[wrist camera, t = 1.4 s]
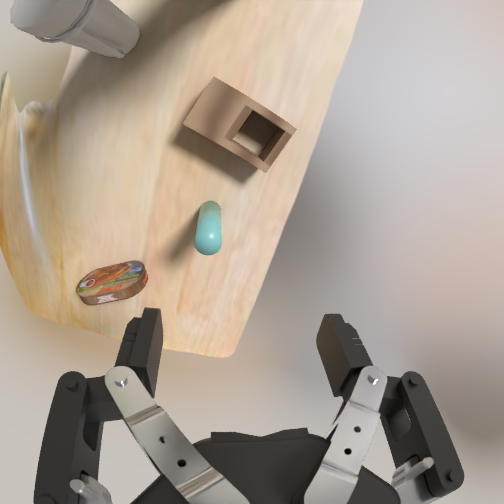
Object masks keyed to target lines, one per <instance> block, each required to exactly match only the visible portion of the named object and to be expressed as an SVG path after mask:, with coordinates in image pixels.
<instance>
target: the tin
mask: <svg viewBox="0 0 504 504" xmlns="http://www.w3.org/2000/svg"><path fill="white" fill-rule="evenodd" d="M147 280H148V274H147V272H146V270H145V266H144V264H143V263H142V262H140V261H129V262H124V263H120V264H116V265H112V266H108V267H104V268H100V269H96V270H94V271H92V272H90V273H89V274H87V275H86V276H85V277H84V278H83V279H82V280H81V281H80V282H79V284H78V286H77V288H76V292H77V294H78V295H79V296H80V298H81V300H82V301H83V302H84V303H85V304H87V305H97V304H102V303H108V302H113V301H118V300H123V299H127V298H130V297H133V296H134V295H136V294H138V293H139V292H140V291H141V290H142V289H143V288H144V287H145V285H146V283H147Z"/></svg>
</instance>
